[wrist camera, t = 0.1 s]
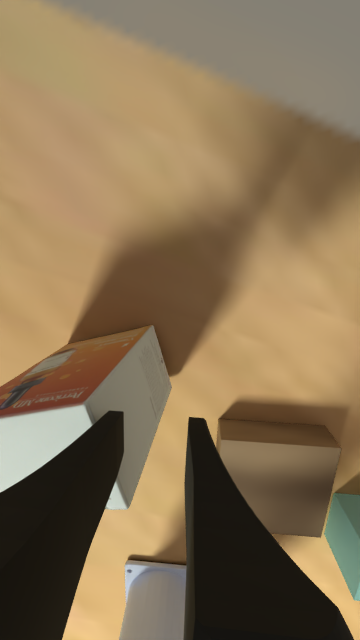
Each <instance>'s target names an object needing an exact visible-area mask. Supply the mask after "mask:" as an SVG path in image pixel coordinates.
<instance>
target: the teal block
mask: <svg viewBox="0 0 360 640" xmlns="http://www.w3.org/2000/svg"><path fill="white" fill-rule="evenodd" d="M324 535H325V537H326V539H327V541H328V543H329V546H330V548H331V550H332V552H333V555H334V557H335V559H336V561H337V563H338V566H339V568H340V570H341V572H342V575H343V577H344V579H345V581H346V583H347V586H348V588H349V590H350V592H351V595H352V597H353V599H354V600H357V601H360V495H354V494H341V493H334V494H333V499H332V503H331V507H330V512H329V516H328V520H327V524H326V529H325V533H324Z"/></svg>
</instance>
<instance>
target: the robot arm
mask: <svg viewBox="0 0 360 640" xmlns="http://www.w3.org/2000/svg"><path fill="white" fill-rule="evenodd" d="M123 454H124V412H123V411H111V410H109V411H108V412H107V413H106V414H104V415H103V416H102V417H101V418H100V419H99V420H98V421H97V422H96V423H94V424H93V425H92V426H91V427H90V428H89V429H88V430H87V431H85V432H84V433H83V434H82V435H81V436H80V437H78V438H77V439H76V440H75V441H74V442H73V443H71V444H70V445H69V446H68V447H66V448H65V449H64V450H63V451H61V452H60V453H59V454H58V455H56V456H55V457H54V458H52V459H51V460H50V461H48V462H47V463H46V464H44V465H43V466H42V467H40V468H39V469H37V470H36V471H34V472H33V473H31V474H30V475H28V476H27V477H25V478H24V479H22V480H21V481H19V482H17V483H16V484H14V485H12V486H11V487H9V488H7V489H6V490H4V491H2V492H1V493H0V640H62V637H63V634H64V630H65V627H66V623H67V620H68V617H69V613H70V610H71V606H72V603H73V600H74V596H75V593H76V589H77V586H78V583H79V580H80V576H81V573H82V570H83V567H84V564H85V560H86V557H87V554H88V551H89V548H90V545H91V543H92V540H93V537H94V535H95V532H96V530H97V527H98V525H99V522H100V520H101V517H102V515H103V512H104V510H105V507H106V505H107V502H108V500H109V497H110V494H111V492H112V489H113V487H114V484H115V482H116V479H117V476H118V473H119V469H120V466H121V462H122V458H123ZM185 516H186V548H187V565H176V564H165V563H155V562H144V561H134V560H128V561H126V564H125V589H126V607H125V612H124V617H123V622H122V627H121V632H120V637H119V640H354V639H353V636H352V634H351V632H350V630H349V628H348V626H347V624H346V622H345V620H344V618H343V616H342V614H341V612H340V611H339V609H338V607H337V606H336V605H335V604H334V603H333V602H332V601H331V600H330V599H329V598H328V597H327V596H326V595H325V594H324V593H323V592H322V591H321V590H320V589H319V588H318V587H317V586H316V585H315V584H314V583H313V582H312V581H311V580H310V579H309V578H308V577H307V576H306V575H305V573H304V572H303V571H302V570H301V569H300V568H299V567H298V566H297V565H296V563H295V562H294V561H293V560H292V559H291V558H290V557H289V556H288V554H287V553H286V552H285V551H284V550H283V549H282V547H281V546H280V545H279V544H278V542H277V541H276V540H275V539H274V537H273V536H272V535H271V534H270V532H269V531H268V530H267V529H266V527H265V526H264V525H263V524H262V522H261V521H260V520H259V518H258V517H257V516H256V514H255V513H254V511H253V510H252V509H251V507H250V506H249V504H248V503H247V501H246V500H245V498H244V497H243V495H242V494H241V492H240V491H239V489H238V488H237V486H236V484H235V483H234V481H233V479H232V478H231V476H230V474H229V472H228V471H227V469H226V467H225V465H224V463H223V461H222V459H221V457H220V455H219V453H218V451H217V449H216V447H215V445H214V442H213V440H212V437H211V435H210V432H209V429H208V426H207V423H206V420H205V419H204V418H193V417H189V423H188V437H187V451H186V467H185Z"/></svg>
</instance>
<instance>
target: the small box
mask: <svg viewBox="0 0 360 640" xmlns="http://www.w3.org/2000/svg"><path fill="white" fill-rule="evenodd" d="M171 388H172V386H171V383H170V379H169V376H168V373H167V369H166V366H165V363H164V359H163V356H162V353H161V349H160V346H159V343H158V339H157V336H156V333H155V330H154V326H153V325H149V326H145V327H141V328H138V329H134V330H130V331H126V332H121V333H117V334H112V335H107V336H103V337H98V338H93V339H89V340H84V341H80V342H75V343H70V344H67V345H65V346H64V347H62V348H61V349H59V350H58V351H56V352H55V353H53V354H51V355H50V356H48V357H47V358H45V359H43V360H42V361H40V362H39V363H37V364H35V365H34V366H32V367H31V368H29V369H28V370H26V371H25V372H23V373H22V374H20V375H19V376H17V377H16V378H14V379H12V380H11V381H9V382H7V383H6V384H4V385H3V386H1V387H0V493H1V492H2V491H4V490H6V489H7V488H9V487H11V486H12V485H14V484H16V483H17V482H19V481H21V480H22V479H24V478H25V477H27V476H28V475H30V474H31V473H33V472H34V471H36V470H37V469H39V468H40V467H42V466H43V465H44V464H46V463H47V462H48V461H50V460H51V459H52V458H54V457H55V456H56V455H58V454H59V453H60V452H61V451H63V450H64V449H65V448H66V447H68V446H69V445H70V444H71V443H73V442H74V441H75V440H76V439H77V438H78V437H80V436H81V435H82V434H83V433H84V432H85V431H87V430H88V429H89V428H90V427H91V426H92V425H93V424H94V423H96V422H97V421H98V420H99V419H100V418H101V417H102V416H103V415H104V414H106V413H107V412H108V411H109V410H111V411H123V412H124V454H123V458H122V462H121V466H120V469H119V473H118V476H117V479H116V482H115V484H114V487H113V489H112V492H111V494H110V497H109V500H108V502H107V505H106V507H105V509H111V510H117V509H125V510H126V509H128V508H129V506H130V504H131V501H132V499H133V496H134V493H135V490H136V487H137V485H138V482H139V479H140V476H141V473H142V471H143V468H144V465H145V462H146V459H147V456H148V453H149V450H150V447H151V444H152V442H153V439H154V436H155V433H156V430H157V428H158V424H159V422H160V419H161V416H162V413H163V411H164V408H165V405H166V402H167V399H168V397H169V394H170V391H171Z"/></svg>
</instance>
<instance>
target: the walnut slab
mask: <svg viewBox="0 0 360 640" xmlns="http://www.w3.org/2000/svg"><path fill="white" fill-rule="evenodd" d="M216 449H217V451H218V453H219V455H220V457H221V459H222V461H223V463H224V465H225V467H226V469H227V471H228V472H229V474H230V476H231V478H232V479H233V481H234V483H235V484H236V486H237V488H238V489H239V491H240V492H241V494H242V495H243V497H244V498H245V500H246V501H247V503H248V504H249V506H250V507H251V509H252V510H253V511H254V513H255V514H256V516H257V517H258V518H259V520H260V521H261V522H262V524H263V525H264V526H265V527H266V529H267V530H268V531H269V532H270V533H275V534H287V535H298V536H309V537H320V538H321V534H322V530H323V526H324V521H325V517H326V513H327V508H328V504H329V500H330V495H331V491H332V487H333V483H334V478H335V474H336V470H337V465H338V461H339V457H340V452H341V447H340V446H339V444H338V443H337V442H336V440H335V439H334V437H333V436H332V435H331V433H330V432H329V431H328V429H327V428H326V426H322V425H306V424H291V423H276V422H261V421H245V420H230V419H218V431H217V443H216Z"/></svg>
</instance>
